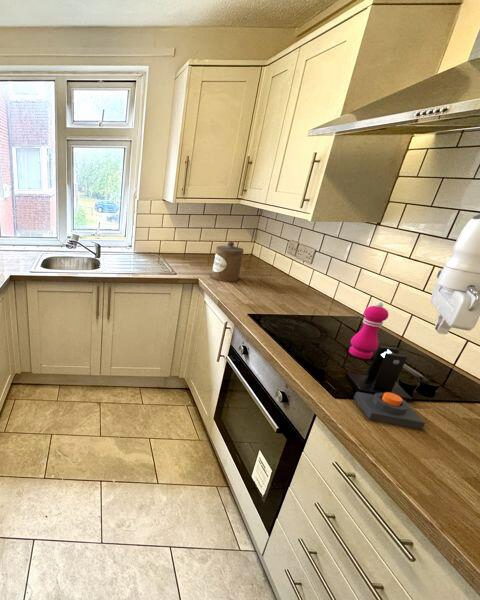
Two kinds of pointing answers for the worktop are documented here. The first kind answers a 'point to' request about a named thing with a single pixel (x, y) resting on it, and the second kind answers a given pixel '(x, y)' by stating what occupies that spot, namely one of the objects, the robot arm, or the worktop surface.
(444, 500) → the worktop surface
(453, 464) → the worktop surface
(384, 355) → the lever
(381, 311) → the pepper mill
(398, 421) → the button block
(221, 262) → the wooden container
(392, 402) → the button
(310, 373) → the worktop surface
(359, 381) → the bracket
